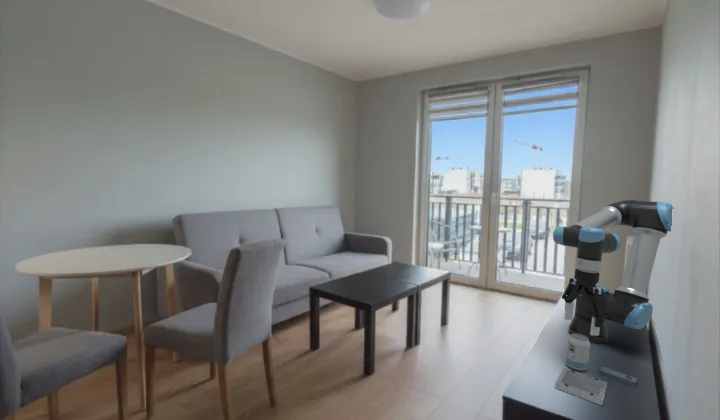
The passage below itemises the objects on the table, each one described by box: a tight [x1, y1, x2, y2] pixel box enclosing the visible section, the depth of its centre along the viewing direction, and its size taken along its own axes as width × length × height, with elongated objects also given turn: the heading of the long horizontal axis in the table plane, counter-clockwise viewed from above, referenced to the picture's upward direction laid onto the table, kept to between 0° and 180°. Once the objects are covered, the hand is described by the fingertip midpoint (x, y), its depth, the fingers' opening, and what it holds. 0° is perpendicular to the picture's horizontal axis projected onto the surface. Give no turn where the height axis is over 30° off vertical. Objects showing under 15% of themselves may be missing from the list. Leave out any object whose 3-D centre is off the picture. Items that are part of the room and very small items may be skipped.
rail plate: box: [554, 367, 608, 406], centre depth 118 cm, size 13×13×2 cm
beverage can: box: [565, 333, 591, 372], centre depth 131 cm, size 7×7×12 cm
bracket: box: [599, 366, 638, 388], centre depth 126 cm, size 4×10×2 cm, turn 46°
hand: (580, 326), depth 130 cm, fingers open, 13 cm apart
